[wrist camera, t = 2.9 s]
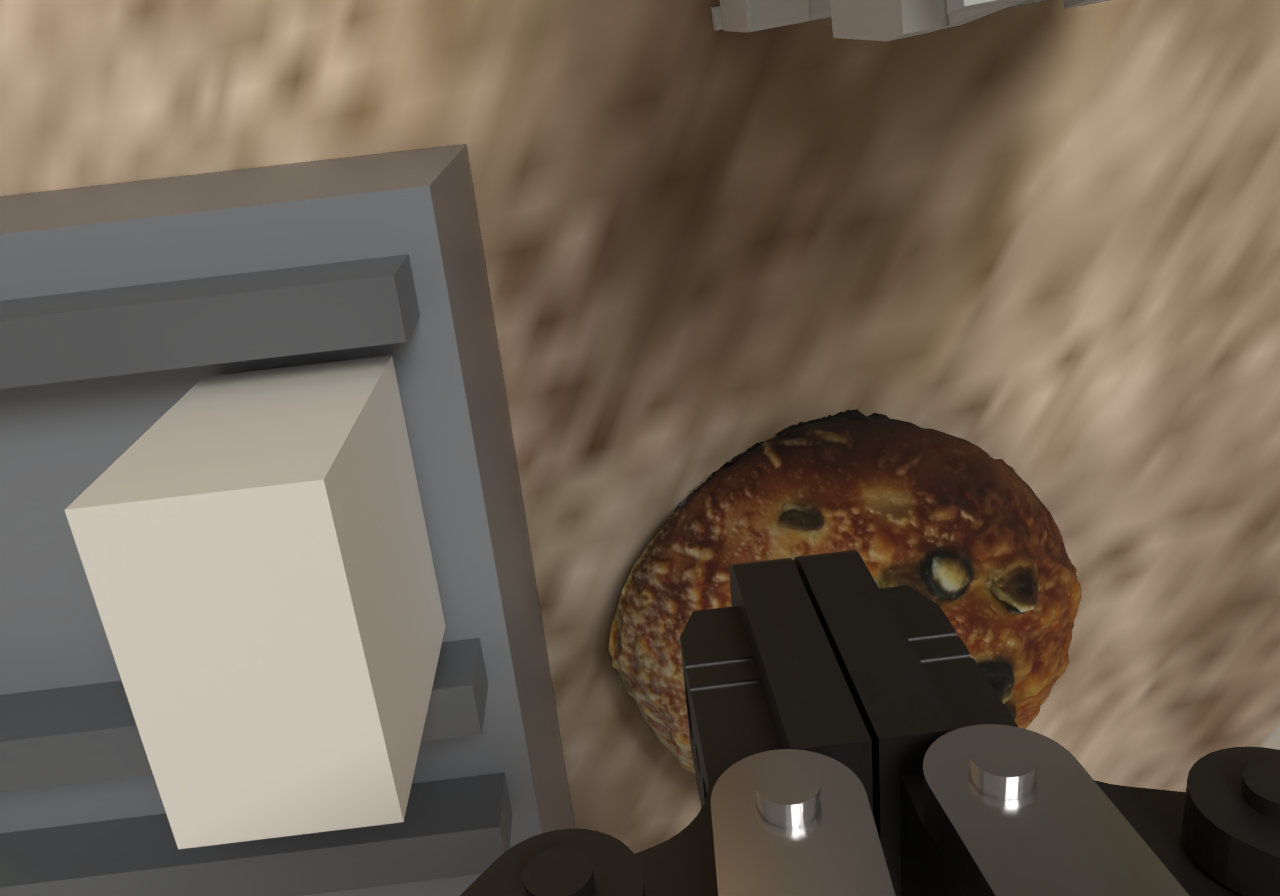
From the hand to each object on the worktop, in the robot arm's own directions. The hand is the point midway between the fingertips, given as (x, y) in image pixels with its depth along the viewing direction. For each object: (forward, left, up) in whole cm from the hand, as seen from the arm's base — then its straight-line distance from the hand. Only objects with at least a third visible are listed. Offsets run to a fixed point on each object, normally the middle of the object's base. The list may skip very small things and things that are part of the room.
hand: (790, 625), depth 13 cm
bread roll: (-3, +7, -12) cm, 15 cm away
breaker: (+7, 0, -6) cm, 9 cm away
